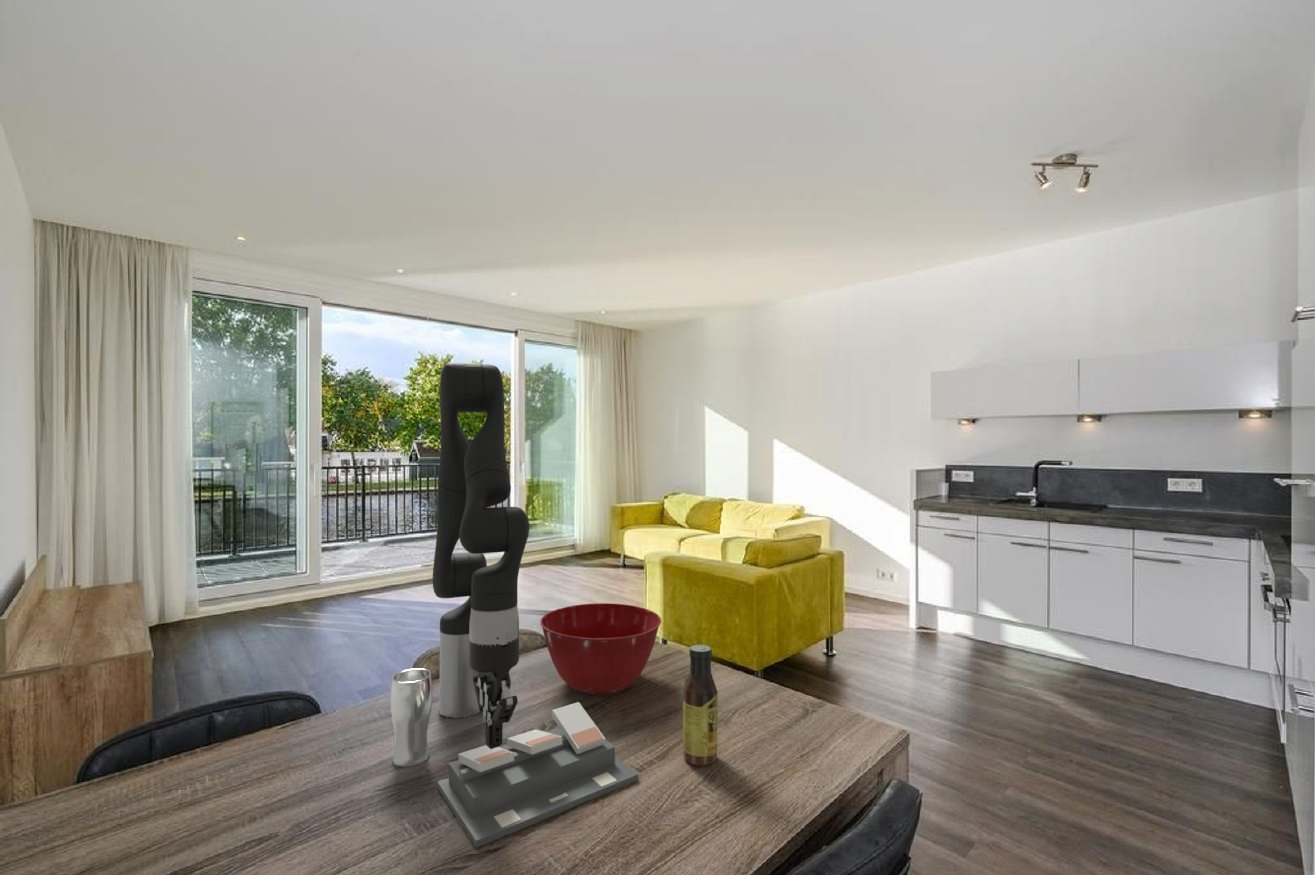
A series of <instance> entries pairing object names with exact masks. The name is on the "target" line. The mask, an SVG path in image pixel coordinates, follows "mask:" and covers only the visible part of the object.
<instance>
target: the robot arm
mask: <svg viewBox="0 0 1315 875" xmlns="http://www.w3.org/2000/svg"><path fill="white" fill-rule="evenodd" d="M439 386H440V387H439V388H440V389H439V403H440V404H439V407H440V411H439V412H440V413H439V414H440V451H439V467H438V477H437V525H436V528H437V530H436V540H435V547H434V548H435V550H434V558H433V568H432V588H433V593H434V594H435V596H436V597H437V598H440V599H454V598H465V597H468V599H467V600H466V601H465V602H464V603H462V604H461V605H459V606H457V607H455V608H454V609H451V610H449V611H447V612H445V613H444V614H443V615H442V616H441V617H440V620H439V701H438V702H439V706H438V708H439V710H438V712H439V711H440V712H439V714H440V713H441V714H440V715H441V716H442V715H444V716H446V717H445V718H448V717H451V718H450V719H453V718H452V717H463V718H465V717H464V716H468V717H470V716H469V715H472V716H475V715H477V714H482V719H483V722H485V731H484V732H485V734H484V735H485V738H484V739H485V741H484V742H485V745H487V746H488V747H489V748H490V749H493V748H496V747H500V746H503V724H506V723H509V722H510V720H511V718H512V716H513V714H514V712H515V709H516V708H517V705H518V702H519V701H518V697H517V695H511V692H510V690H511V687H512V685H511V684H512V680H511V677H510V671H511V670H512V668H514V667H516V666H517V664H518V663H519V661H520V647H519V646H520V616H519V609H518V608H519V607H518V585H519V584H518V581H519V580H518V579H519V573H520V567H521V562H522V558H523V554H524V552H525V548H526V545H527V542H528V538H529V534H530V520H529V517H528V515H527V513H526V512H525V511H524V510H523V509H522V507H518V506H503V507H501V506H500V507H499V506H498V507H494V506H497V505H500V504H502V503H503V502H505V501H506V500H507V499H509V497H510V494H511V489H512V487H511V481H510V474H509V469H508V461H507V456H506V442H505V440H506V439H505V437H506V436H505V433H506V430H505V428H506V423H505V421H506V420H505V419H506V417H505V392H504V391H505V390H504V389H505V387H504V383H503V375H502V372H501V371H500V369H499V367H497V366H496V365H494V364H489V363H476V362H473V363H472V362H446V364H444V365H443V367H442V369H441V372H440V380H439ZM460 413H486V418H485V420H484V423H483V424H482V426H481V428H480V429H479V430H478V432H477V434H475V436H474V437H473V439H472V441H471V442H469V441H468V439H467V437H466V435H465V433H464V431H463V429H462V427H461V424H460V421H459V414H460ZM458 541H460V544H461V546H462V548H463V549H464V550H465V551H466V552H455V553H453V552H454V550H455V548H456V546H457V543H458ZM490 553H503V555H502V556H501V558H500V559H499V561H497V562H495V563H493V564H490V565H488V563H487V558H486V556H485V555H484V554H490ZM444 716H443V717H444Z"/></svg>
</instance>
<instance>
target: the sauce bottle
mask: <svg viewBox="0 0 1315 875" xmlns="http://www.w3.org/2000/svg"><path fill="white" fill-rule="evenodd" d="M712 654H713V653H712V647H710V646H709V645H705V644H695V645H691V646H690V647H689V657H690V658H689V659H690V668H689V672H690V673H689V674H688V676H687V678H686V679H685V680H684V683H683V701H682V702H683V703H682V749H683V758H684V760H685V761H686V762H687V763H688V764H690V765H693V766H698V767H705V766H708V765H711V764H713V763H714V762H715V761H716V759H717V757H718V756H717V752H718V698H719V697H718V696H719V695H718V694H719V693H718V689H717V686H716V684H715V681H714V678H713V675H712V667H711V666H712V665H711V663H712V661H711V658H712Z"/></svg>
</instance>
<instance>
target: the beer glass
mask: <svg viewBox="0 0 1315 875" xmlns="http://www.w3.org/2000/svg"><path fill="white" fill-rule="evenodd" d="M432 684H433V683H432V672H431V670H429V669H426V668H419V667H418V668H408V669H404V670H402V671H399V672H397V673H395V674H393V675H392V677H391V689H390V714H391V721H392V726H393V731H394V738H395V743H394V745H395V746H394V751H393V756H392V763H393V762H394V763H393V765H395V766H396V765H397V766H396V767H398V766H400V767H399V768H411V766H412V767H415V765H416V766H418V765H420V764H419V763H421V764H423V763H425V762H426V760H428V759H427V758H430V757H429V756H430V749H429V744H428V729H429V723H430V718H431V713H432V705H433V685H432ZM422 762H423V763H422ZM417 764H418V765H417Z"/></svg>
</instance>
